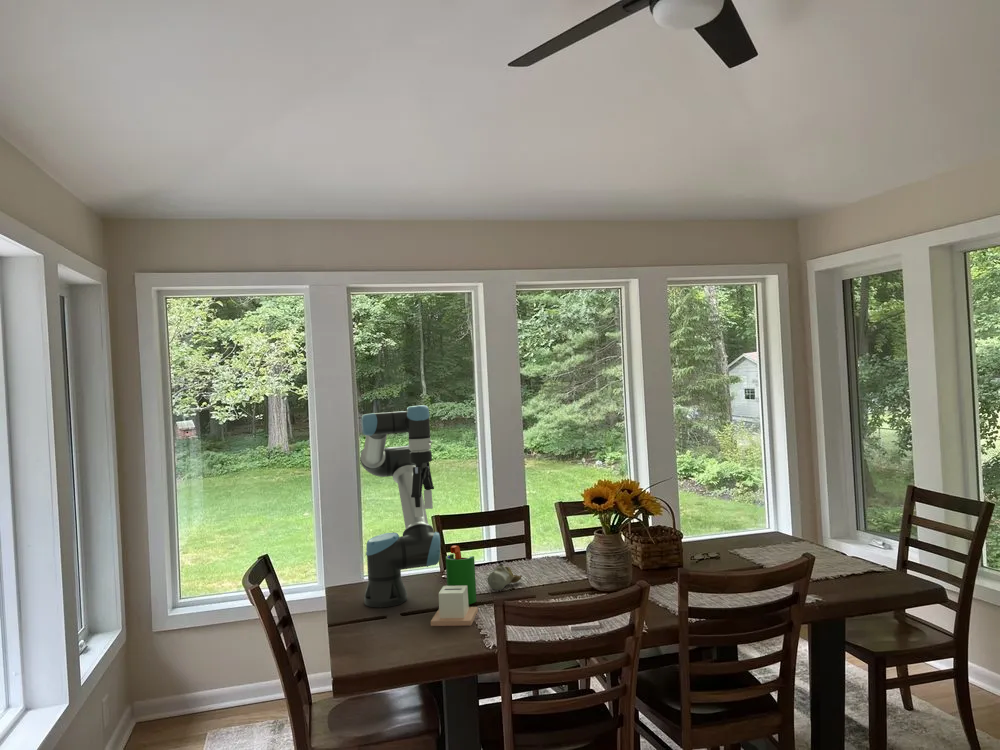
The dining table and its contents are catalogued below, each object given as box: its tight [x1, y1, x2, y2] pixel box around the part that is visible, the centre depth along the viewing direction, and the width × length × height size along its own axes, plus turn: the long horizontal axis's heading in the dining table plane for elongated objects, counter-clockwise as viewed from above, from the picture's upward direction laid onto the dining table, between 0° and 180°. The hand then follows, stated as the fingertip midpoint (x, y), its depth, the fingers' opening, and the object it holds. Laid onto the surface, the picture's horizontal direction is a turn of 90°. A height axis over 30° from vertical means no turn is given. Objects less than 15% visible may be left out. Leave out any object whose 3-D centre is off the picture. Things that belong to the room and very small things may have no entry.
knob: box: [437, 585, 470, 618], centre depth 233 cm, size 8×8×8 cm
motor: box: [445, 545, 478, 605], centre depth 250 cm, size 10×9×20 cm
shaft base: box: [430, 606, 479, 627], centre depth 233 cm, size 13×13×6 cm
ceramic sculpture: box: [486, 563, 523, 591], centre depth 265 cm, size 11×9×15 cm
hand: (424, 512), depth 245 cm, fingers open, 13 cm apart
